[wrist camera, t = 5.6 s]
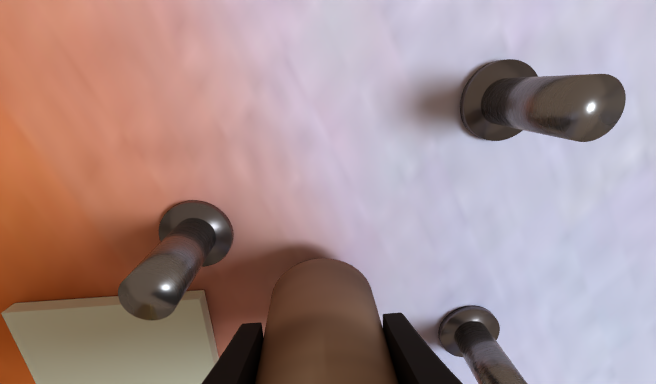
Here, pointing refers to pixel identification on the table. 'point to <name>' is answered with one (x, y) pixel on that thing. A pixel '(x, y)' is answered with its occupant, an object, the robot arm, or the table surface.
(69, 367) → the pad
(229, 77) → the table surface
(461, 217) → the table surface
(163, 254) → the slalom posts
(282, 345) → the walnut peg
